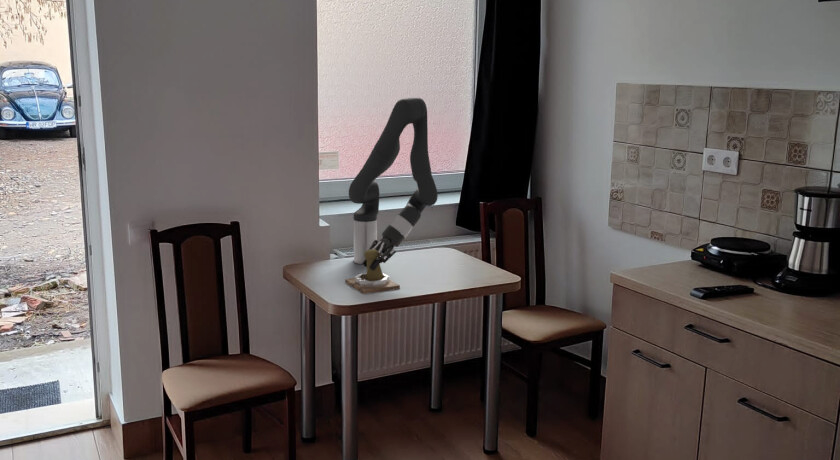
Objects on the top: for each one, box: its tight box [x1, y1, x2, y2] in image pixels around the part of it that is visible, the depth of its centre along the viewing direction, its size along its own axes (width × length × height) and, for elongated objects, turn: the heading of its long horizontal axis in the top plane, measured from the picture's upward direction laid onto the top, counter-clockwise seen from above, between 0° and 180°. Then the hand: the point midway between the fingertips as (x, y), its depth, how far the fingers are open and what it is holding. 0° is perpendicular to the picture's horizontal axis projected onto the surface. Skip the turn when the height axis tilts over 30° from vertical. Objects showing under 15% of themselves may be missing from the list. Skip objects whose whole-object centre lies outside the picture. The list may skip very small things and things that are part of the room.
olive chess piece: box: [364, 249, 384, 281], centre depth 277 cm, size 6×6×11 cm
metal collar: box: [354, 272, 390, 287], centre depth 278 cm, size 11×11×2 cm
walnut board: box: [344, 277, 401, 295], centre depth 278 cm, size 16×14×1 cm
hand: (367, 267), depth 276 cm, fingers open, 5 cm apart
